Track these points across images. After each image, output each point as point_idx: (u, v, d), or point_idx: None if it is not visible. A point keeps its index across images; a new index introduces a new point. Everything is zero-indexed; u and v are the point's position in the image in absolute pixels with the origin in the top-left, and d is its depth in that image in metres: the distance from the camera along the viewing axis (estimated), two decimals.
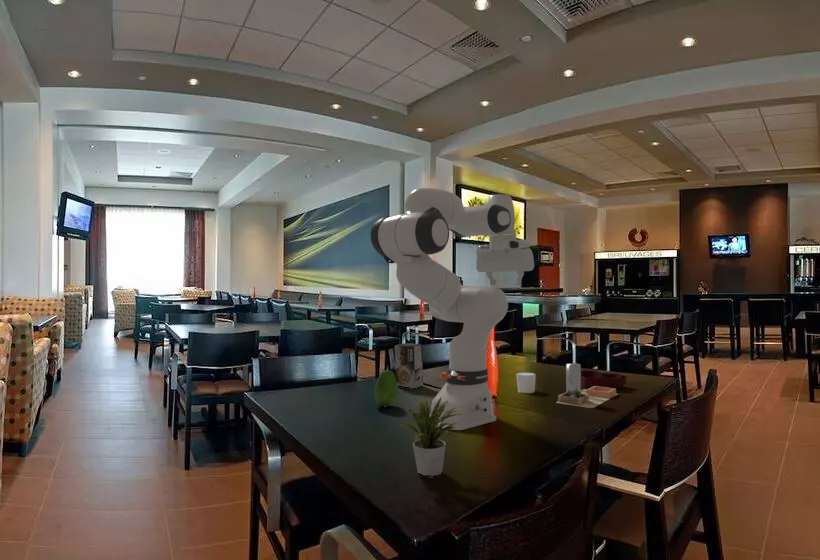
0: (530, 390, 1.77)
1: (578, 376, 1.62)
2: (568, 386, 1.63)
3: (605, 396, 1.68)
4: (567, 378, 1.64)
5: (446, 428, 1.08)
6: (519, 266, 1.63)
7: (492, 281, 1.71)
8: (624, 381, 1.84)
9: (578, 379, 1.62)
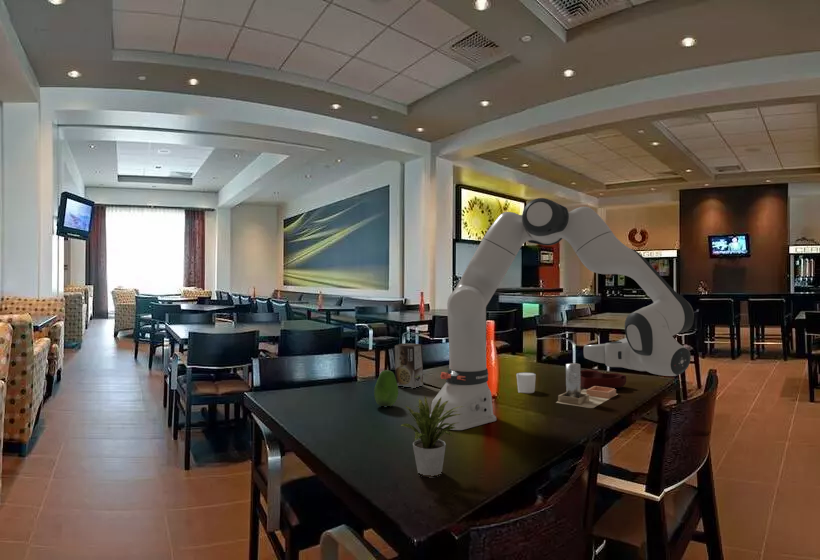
0: (530, 390, 1.77)
1: (578, 376, 1.62)
2: (568, 386, 1.63)
3: (605, 396, 1.68)
4: (567, 378, 1.64)
5: (446, 428, 1.08)
6: None
7: None
8: (624, 381, 1.84)
9: (578, 379, 1.62)
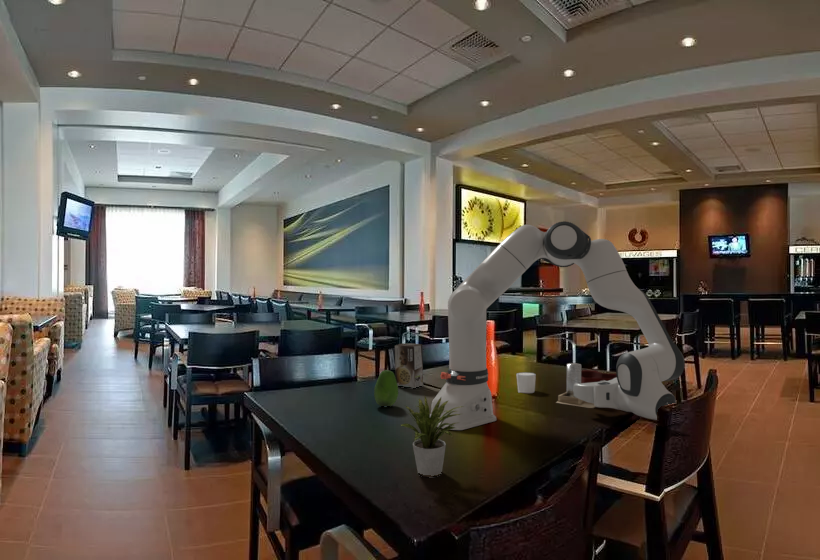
0: (530, 390, 1.77)
1: (579, 376, 1.62)
2: (568, 386, 1.63)
3: None
4: (567, 378, 1.63)
5: (446, 428, 1.08)
6: (584, 383, 1.49)
7: (603, 381, 1.57)
8: None
9: (579, 379, 1.62)
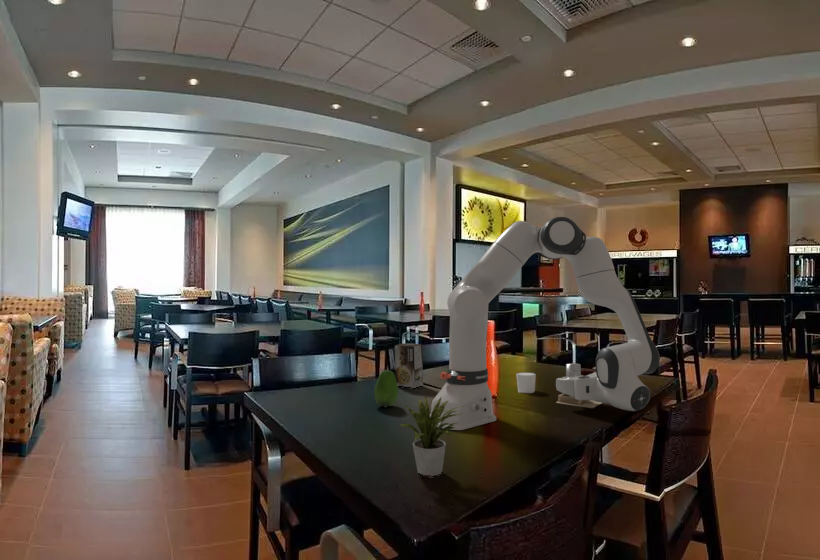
0: (530, 390, 1.77)
1: None
2: None
3: None
4: None
5: (446, 428, 1.08)
6: (566, 378, 1.57)
7: (580, 376, 1.65)
8: None
9: None
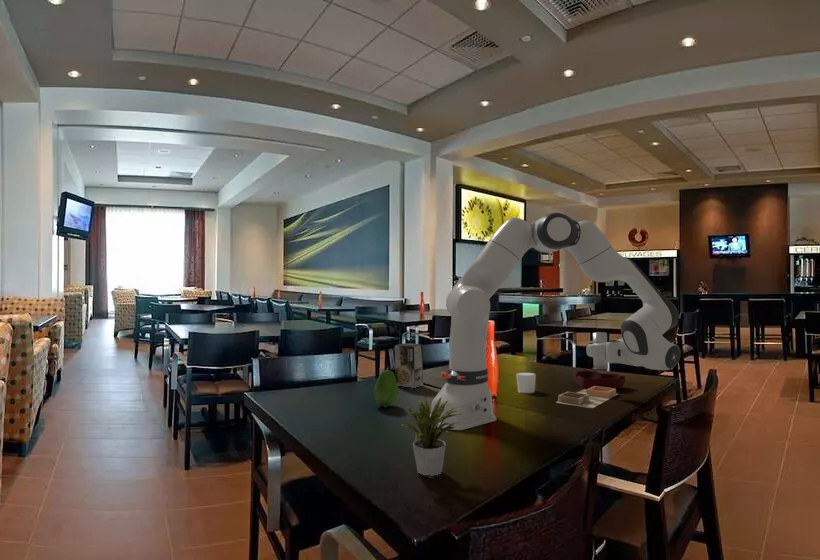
0: (530, 390, 1.77)
1: None
2: None
3: (605, 396, 1.68)
4: None
5: (446, 428, 1.08)
6: None
7: None
8: (623, 382, 1.83)
9: None
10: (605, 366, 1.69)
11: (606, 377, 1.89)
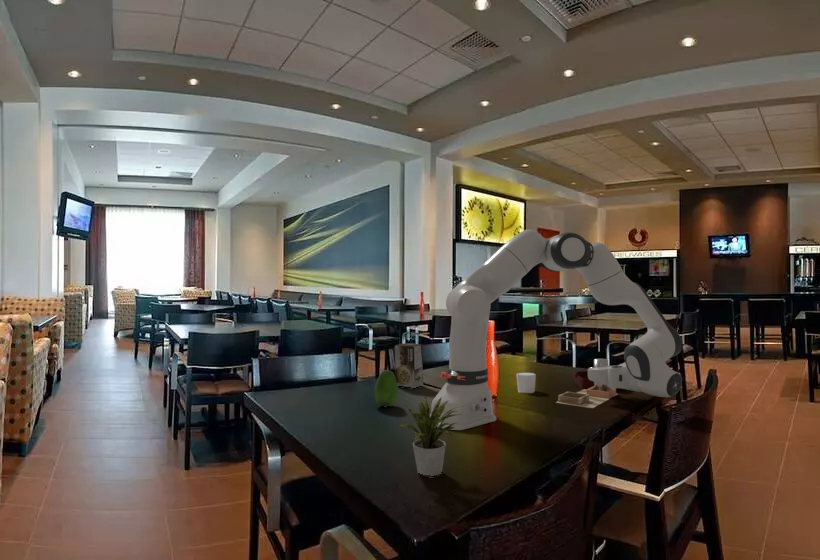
0: (530, 390, 1.77)
1: None
2: None
3: (605, 396, 1.68)
4: None
5: (446, 428, 1.08)
6: (597, 368, 1.65)
7: None
8: None
9: None
10: None
11: None
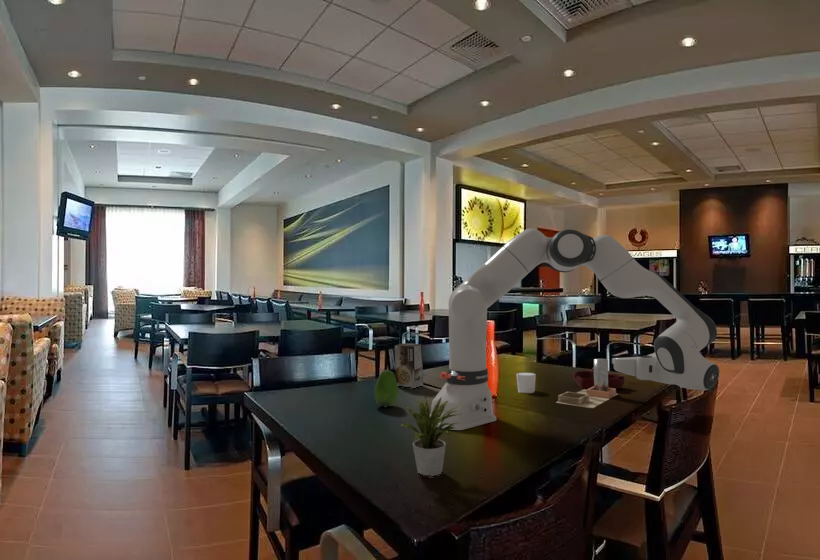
0: (530, 390, 1.77)
1: (606, 370, 1.70)
2: (596, 380, 1.71)
3: (605, 396, 1.68)
4: (595, 373, 1.71)
5: (446, 428, 1.08)
6: None
7: None
8: (622, 382, 1.83)
9: (606, 373, 1.70)
10: None
11: None
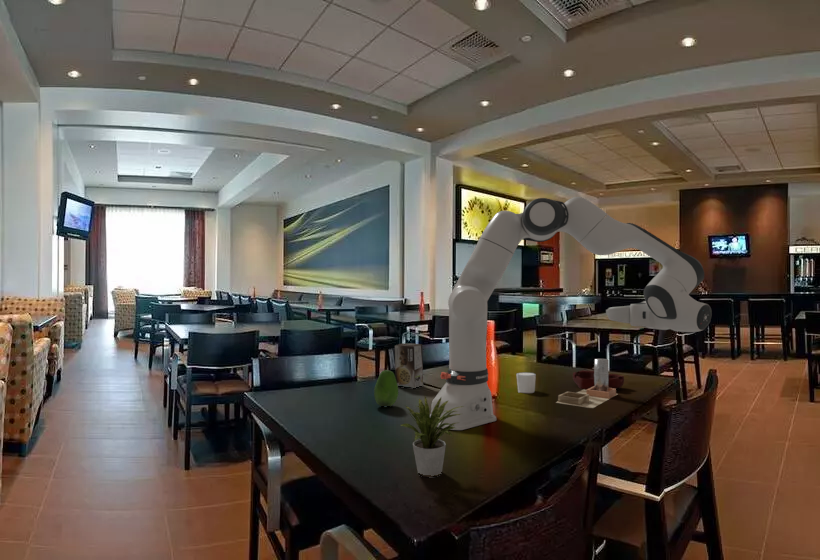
0: (530, 390, 1.77)
1: (606, 371, 1.70)
2: (597, 380, 1.71)
3: (605, 396, 1.68)
4: (596, 373, 1.71)
5: (446, 428, 1.08)
6: None
7: None
8: (621, 382, 1.82)
9: (606, 373, 1.70)
10: None
11: None
